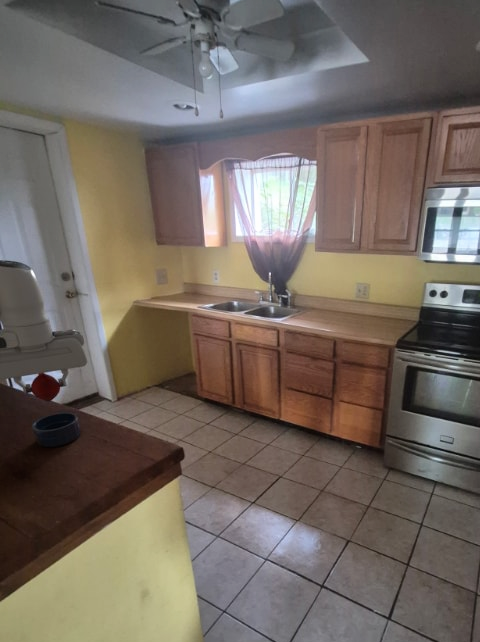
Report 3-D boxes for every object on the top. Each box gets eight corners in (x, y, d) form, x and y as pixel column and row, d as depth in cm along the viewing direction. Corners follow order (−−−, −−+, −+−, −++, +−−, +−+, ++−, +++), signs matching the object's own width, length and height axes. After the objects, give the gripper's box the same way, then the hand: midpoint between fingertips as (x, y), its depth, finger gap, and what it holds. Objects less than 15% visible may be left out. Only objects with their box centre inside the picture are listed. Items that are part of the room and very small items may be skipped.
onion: (59, 394, 96) (51, 365, 93) (66, 401, 92) (58, 371, 89) (33, 401, 92) (24, 371, 89) (38, 408, 88) (29, 377, 85)
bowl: (28, 449, 92) (23, 431, 90) (51, 428, 101) (46, 412, 99) (69, 448, 92) (64, 430, 90) (88, 428, 101) (84, 412, 99)
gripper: (80, 325, 93) (92, 376, 98) (-24, 337, 83) (-4, 393, 88) (82, 331, 88) (94, 384, 93) (-28, 344, 78) (-7, 403, 83)
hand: (45, 389), depth 91 cm, fingers closed on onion, 6 cm apart
